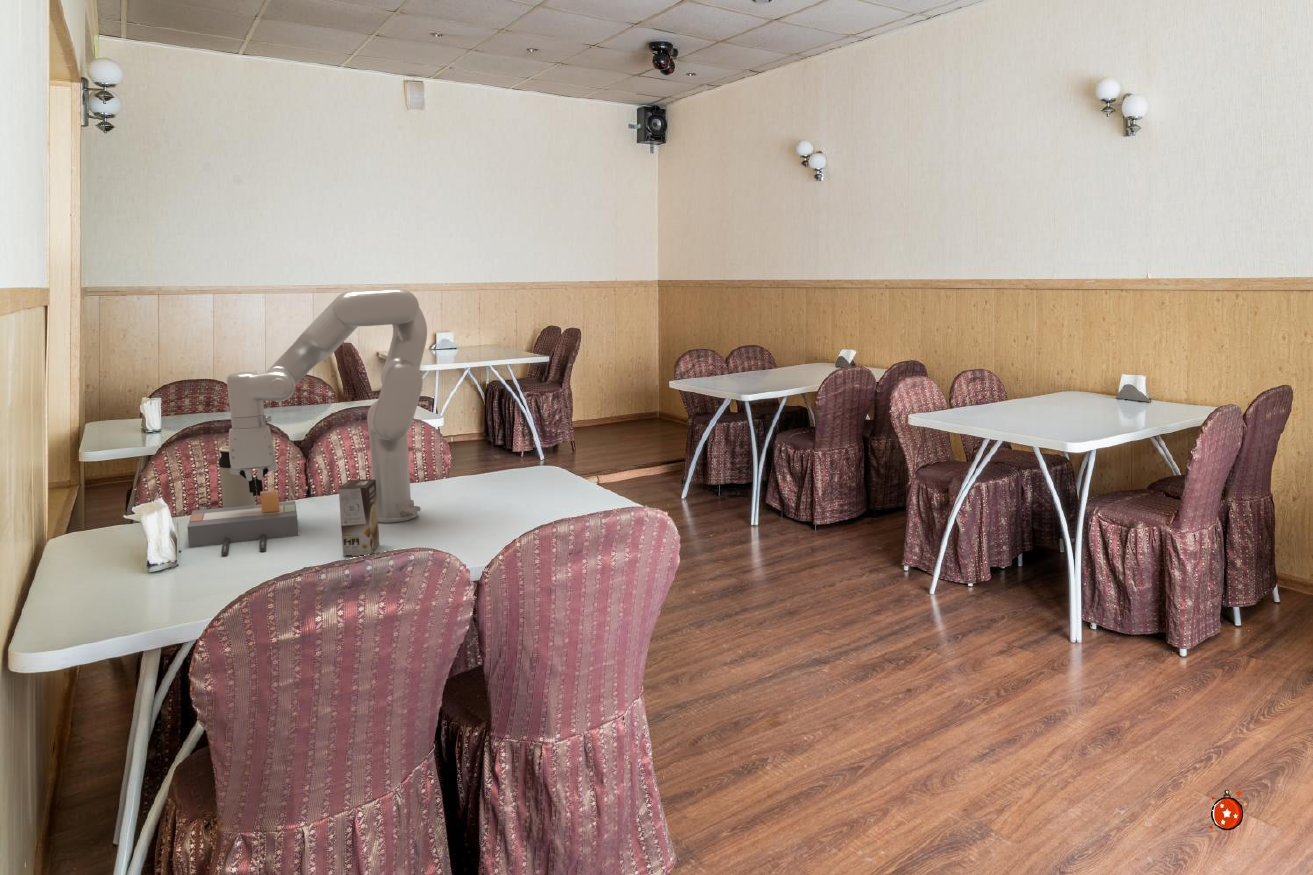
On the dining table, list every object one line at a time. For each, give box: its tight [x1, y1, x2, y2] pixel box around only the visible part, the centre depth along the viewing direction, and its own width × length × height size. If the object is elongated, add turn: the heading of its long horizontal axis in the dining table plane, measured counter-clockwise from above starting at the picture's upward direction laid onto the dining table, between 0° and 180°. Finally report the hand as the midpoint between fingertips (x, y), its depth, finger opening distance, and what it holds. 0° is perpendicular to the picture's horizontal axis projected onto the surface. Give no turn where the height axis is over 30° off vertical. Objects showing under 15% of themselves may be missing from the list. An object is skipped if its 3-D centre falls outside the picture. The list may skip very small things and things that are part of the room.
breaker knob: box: [260, 489, 280, 512], centre depth 221 cm, size 4×6×4 cm, turn 23°
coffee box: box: [338, 478, 380, 557], centre depth 203 cm, size 9×6×16 cm
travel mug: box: [218, 445, 257, 508], centre depth 237 cm, size 8×8×18 cm
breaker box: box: [186, 500, 299, 557], centre depth 214 cm, size 24×27×5 cm
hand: (256, 494), depth 219 cm, fingers closed
